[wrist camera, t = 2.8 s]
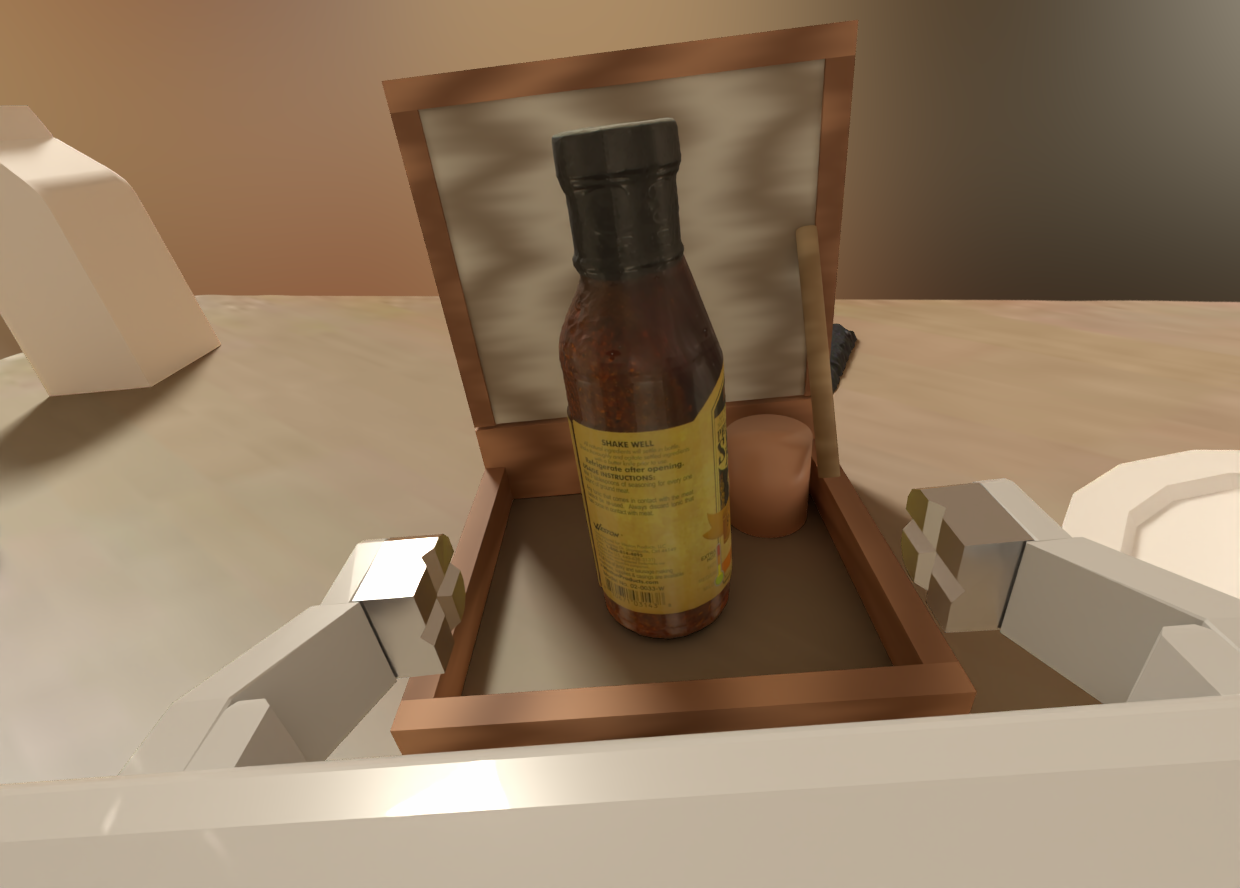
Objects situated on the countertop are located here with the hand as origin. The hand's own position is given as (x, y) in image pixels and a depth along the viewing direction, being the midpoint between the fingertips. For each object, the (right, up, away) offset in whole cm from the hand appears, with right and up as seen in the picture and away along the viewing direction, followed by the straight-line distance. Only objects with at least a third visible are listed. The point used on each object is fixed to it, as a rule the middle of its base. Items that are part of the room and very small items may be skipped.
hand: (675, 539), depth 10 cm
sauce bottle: (+1, -6, +18) cm, 18 cm away
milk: (-56, +10, +56) cm, 79 cm away
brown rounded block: (+7, -2, +22) cm, 23 cm away
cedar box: (+1, -5, +18) cm, 19 cm away
